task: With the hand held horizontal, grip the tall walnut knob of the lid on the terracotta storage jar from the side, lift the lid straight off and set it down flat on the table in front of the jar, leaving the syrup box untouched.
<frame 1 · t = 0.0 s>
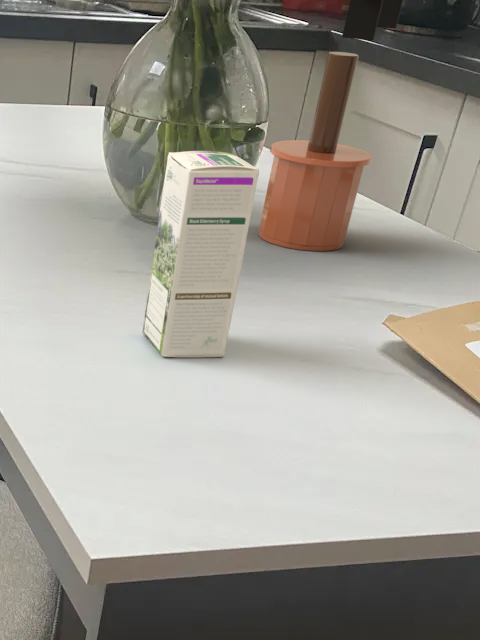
hand: (370, 33, 101), 21 cm above the countertop, tool pointing down, fingers open, 13 cm apart
jar: (300, 239, 120), on the countertop
syrup box: (180, 348, 90), on the countertop
lid: (319, 156, 115), point 8 cm above the countertop, touching jar
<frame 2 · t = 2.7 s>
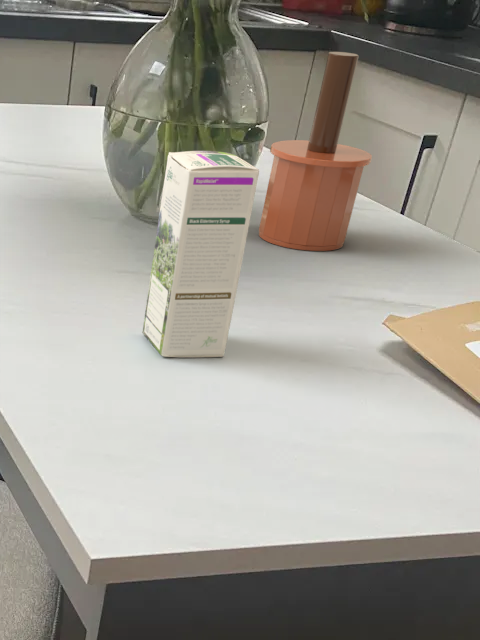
nothing on the countertop moved.
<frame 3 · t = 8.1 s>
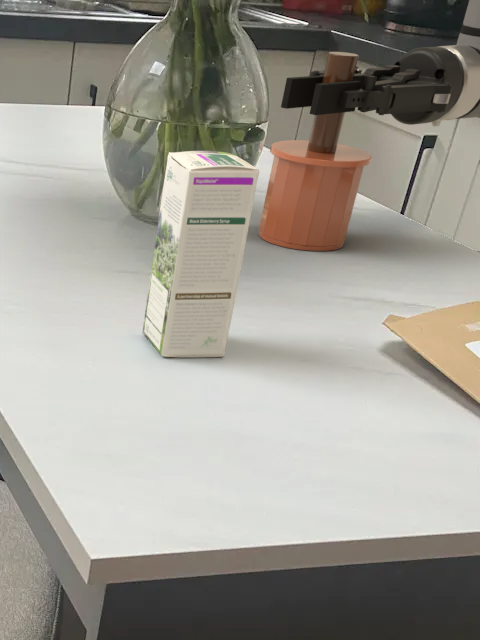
hand: (301, 96, 108), 14 cm above the countertop, tool horizontal, fingers closed on lid, 3 cm apart
lid: (319, 156, 115), point 8 cm above the countertop, touching gripper, jar
everything else where it was.
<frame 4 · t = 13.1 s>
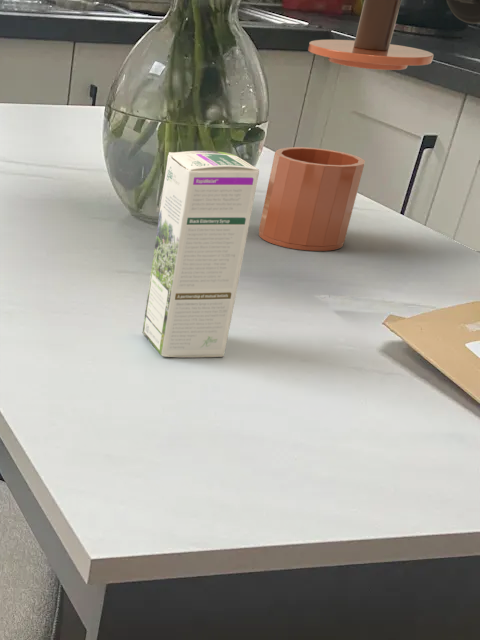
lid: (369, 56, 94), point 20 cm above the countertop, touching gripper
everything else where it was.
when the fingers open (6 cm above the countertop, at t = 18.3 s): lid stays where it is, point 1 cm above the countertop.
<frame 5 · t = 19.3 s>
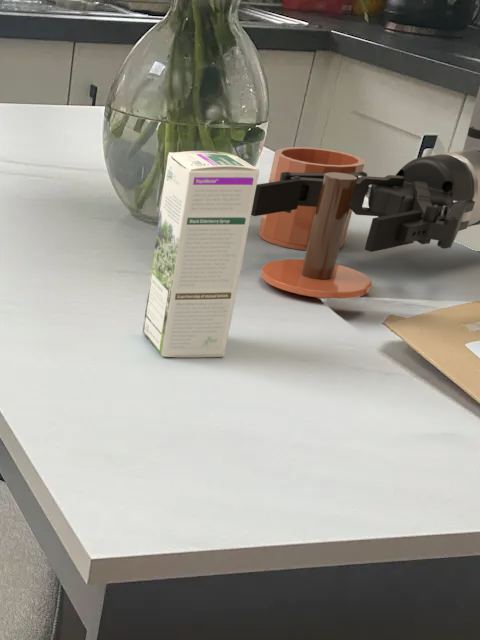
hand: (310, 217, 99), 7 cm above the countertop, tool horizontal, fingers open, 13 cm apart
lid: (315, 281, 105), point 1 cm above the countertop
everything else where it was.
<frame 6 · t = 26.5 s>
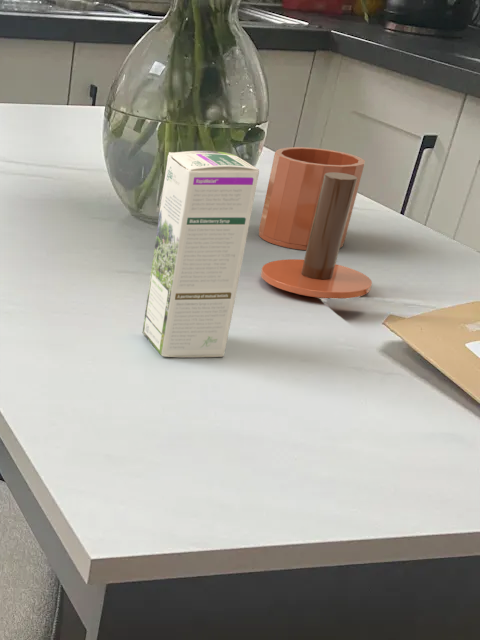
nothing on the countertop moved.
at the end: lid inside the target area (0.0 cm from its centre), point 0.6 cm above the countertop; lid tilted 0°; syrup box moved 0.2 cm from its start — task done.
